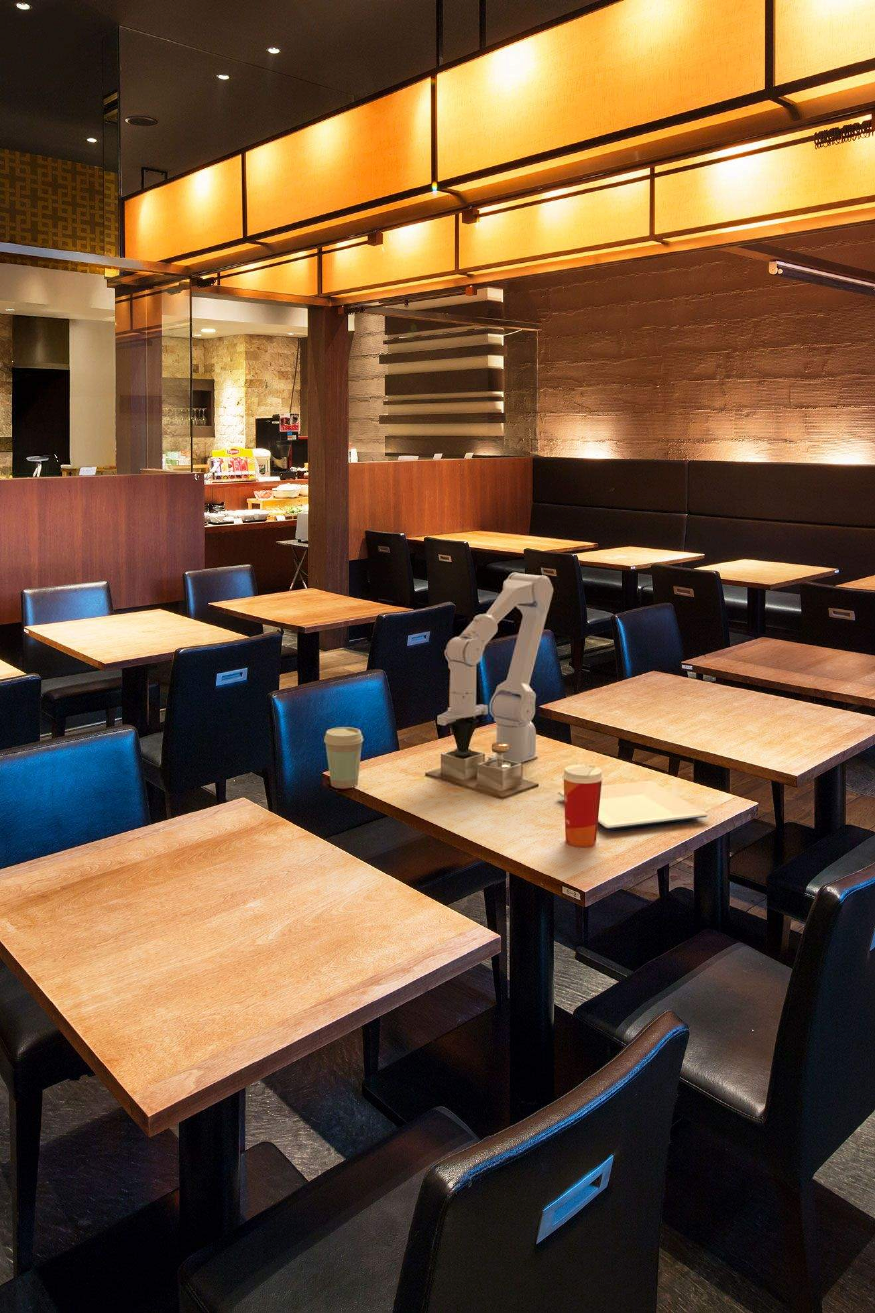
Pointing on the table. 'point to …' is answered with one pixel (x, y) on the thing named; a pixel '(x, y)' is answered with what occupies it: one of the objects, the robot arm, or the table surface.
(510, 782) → the press stand
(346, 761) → the coffee cup
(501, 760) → the copper plunger
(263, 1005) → the table surface
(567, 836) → the paper cup
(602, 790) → the plate
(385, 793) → the table surface
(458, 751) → the black plunger
